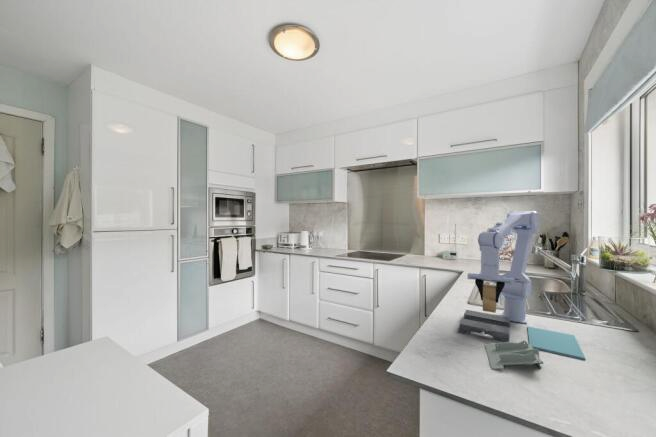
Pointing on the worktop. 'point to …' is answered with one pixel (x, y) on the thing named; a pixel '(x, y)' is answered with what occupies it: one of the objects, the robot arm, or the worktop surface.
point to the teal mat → (555, 342)
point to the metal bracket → (511, 354)
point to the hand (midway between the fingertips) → (489, 300)
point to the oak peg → (489, 298)
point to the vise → (485, 325)
